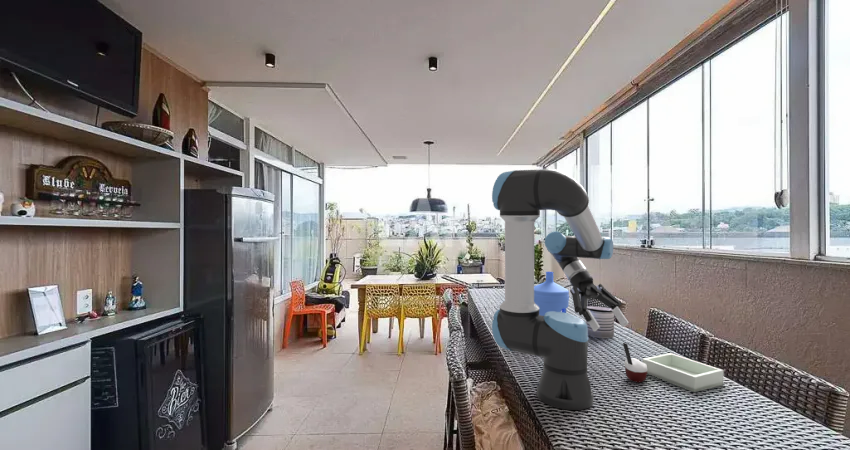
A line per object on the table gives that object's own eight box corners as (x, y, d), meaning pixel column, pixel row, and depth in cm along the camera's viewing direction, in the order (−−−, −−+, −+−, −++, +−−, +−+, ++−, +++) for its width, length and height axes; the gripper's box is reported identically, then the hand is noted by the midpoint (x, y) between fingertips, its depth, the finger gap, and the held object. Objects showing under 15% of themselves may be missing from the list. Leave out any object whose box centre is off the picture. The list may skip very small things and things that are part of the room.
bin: (694, 392, 120) (694, 377, 120) (642, 372, 136) (642, 358, 136) (723, 384, 126) (723, 370, 126) (670, 365, 142) (670, 353, 142)
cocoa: (644, 377, 132) (646, 340, 132) (654, 385, 126) (656, 346, 126) (614, 375, 132) (616, 338, 133) (623, 383, 126) (625, 344, 126)
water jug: (535, 344, 164) (536, 274, 164) (524, 333, 180) (525, 269, 179) (574, 344, 165) (575, 274, 164) (560, 333, 180) (561, 269, 180)
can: (580, 334, 180) (581, 306, 179) (592, 329, 187) (593, 303, 187) (606, 340, 171) (607, 311, 171) (618, 335, 179) (619, 307, 178)
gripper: (597, 280, 159) (630, 328, 146) (547, 284, 148) (577, 337, 135) (608, 268, 154) (644, 317, 141) (557, 271, 143) (590, 325, 130)
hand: (611, 327), depth 138 cm, fingers open, 13 cm apart
